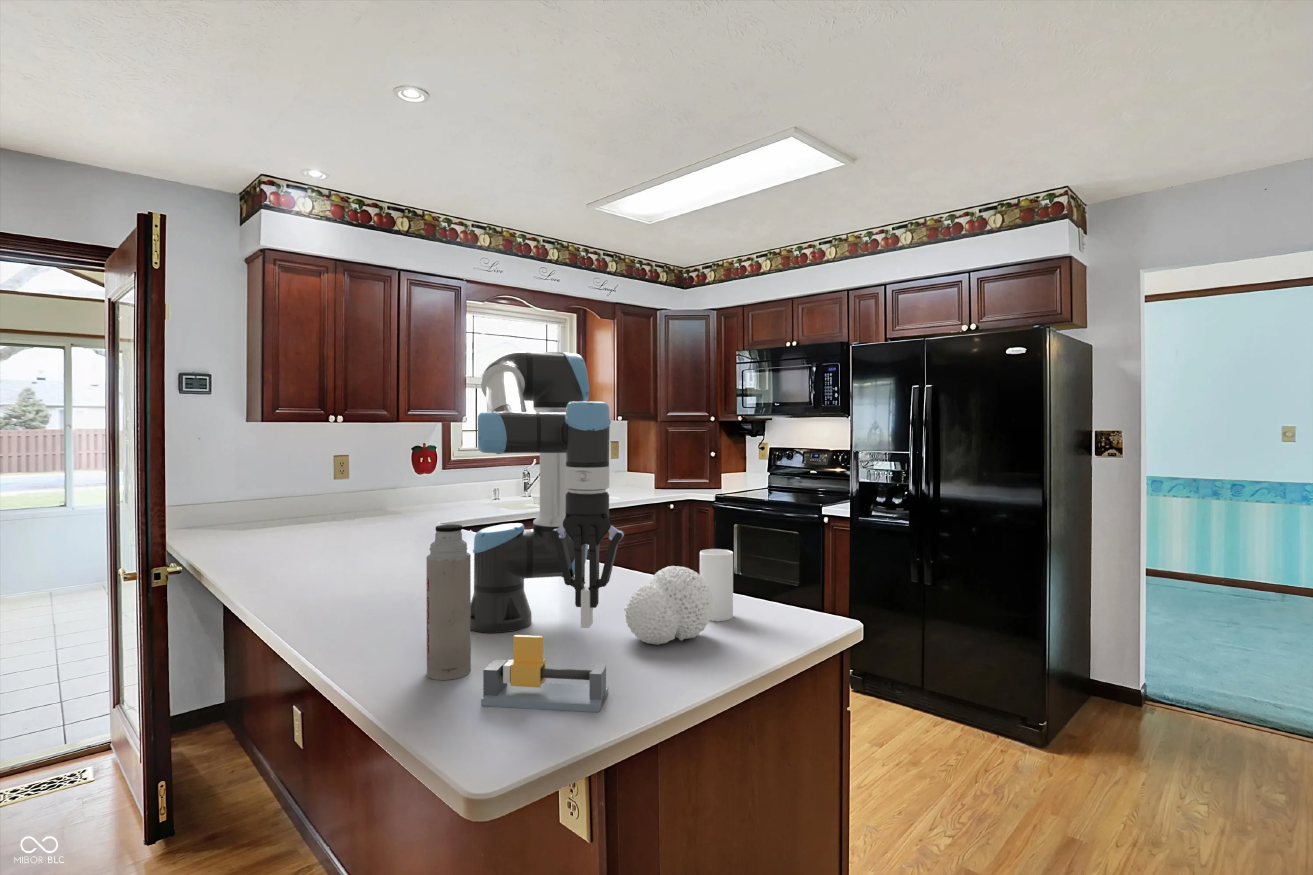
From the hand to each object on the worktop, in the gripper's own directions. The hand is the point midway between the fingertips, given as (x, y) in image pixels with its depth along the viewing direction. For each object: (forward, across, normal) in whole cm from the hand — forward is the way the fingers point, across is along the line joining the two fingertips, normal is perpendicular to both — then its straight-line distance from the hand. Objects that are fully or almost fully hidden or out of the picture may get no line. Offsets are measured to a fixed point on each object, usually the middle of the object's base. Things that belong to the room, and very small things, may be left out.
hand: (586, 625), depth 116 cm
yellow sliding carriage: (+9, -9, -4) cm, 14 cm away
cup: (+14, +21, +52) cm, 57 cm away
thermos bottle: (+13, -28, +6) cm, 32 cm away
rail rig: (+12, -6, -4) cm, 14 cm away
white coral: (+13, +12, +32) cm, 36 cm away
